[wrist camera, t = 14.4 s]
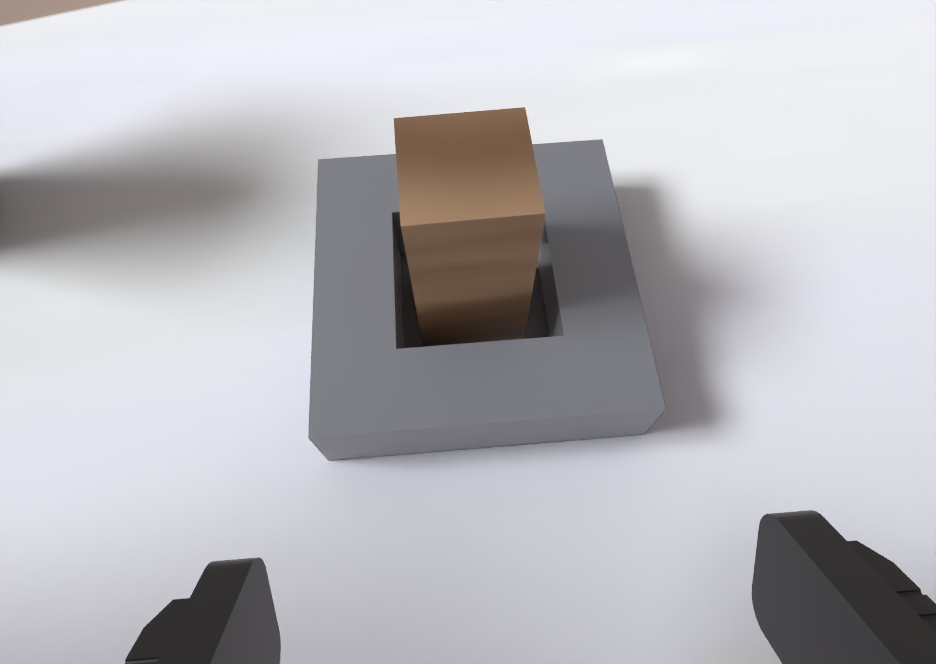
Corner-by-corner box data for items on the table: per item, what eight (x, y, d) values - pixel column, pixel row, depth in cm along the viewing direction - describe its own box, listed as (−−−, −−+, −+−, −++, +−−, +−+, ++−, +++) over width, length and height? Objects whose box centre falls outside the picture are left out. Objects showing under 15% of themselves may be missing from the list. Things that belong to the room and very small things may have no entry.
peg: (523, 348, 25) (545, 213, 17) (425, 358, 25) (400, 226, 17) (510, 266, 27) (525, 107, 19) (419, 274, 26) (393, 118, 18)
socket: (643, 434, 23) (665, 408, 20) (328, 460, 23) (308, 438, 20) (590, 185, 28) (602, 139, 26) (333, 204, 28) (318, 159, 25)
